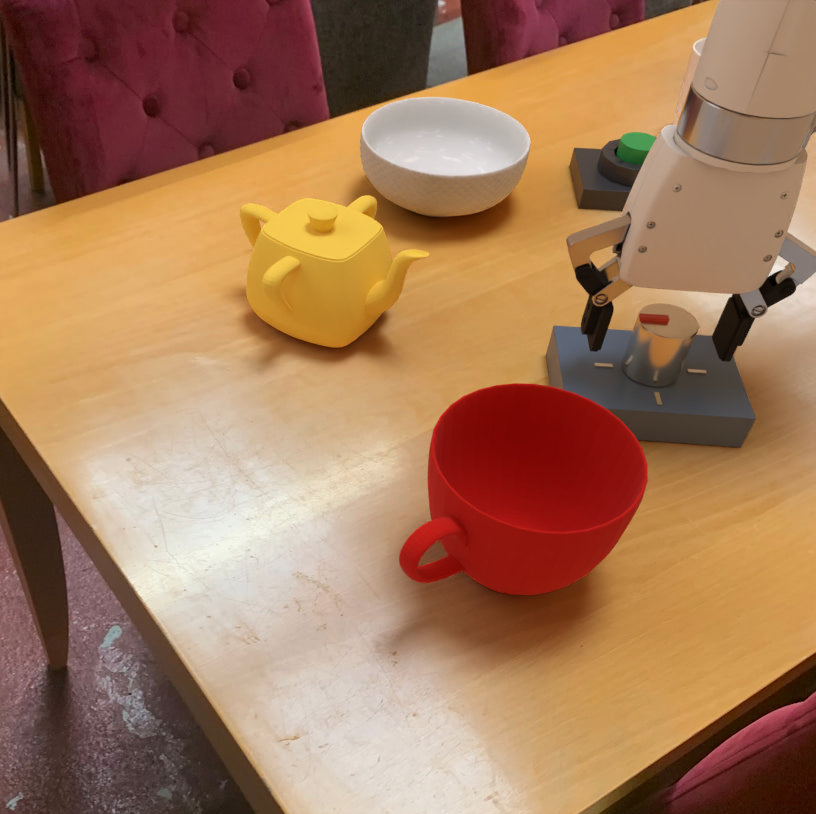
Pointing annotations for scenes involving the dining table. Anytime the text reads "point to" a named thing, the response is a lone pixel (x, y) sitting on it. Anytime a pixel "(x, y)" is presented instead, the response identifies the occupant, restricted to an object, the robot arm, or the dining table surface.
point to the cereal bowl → (443, 155)
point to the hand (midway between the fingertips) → (655, 345)
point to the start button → (635, 147)
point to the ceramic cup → (526, 489)
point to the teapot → (322, 268)
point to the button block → (602, 177)
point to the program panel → (656, 390)
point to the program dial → (659, 344)
